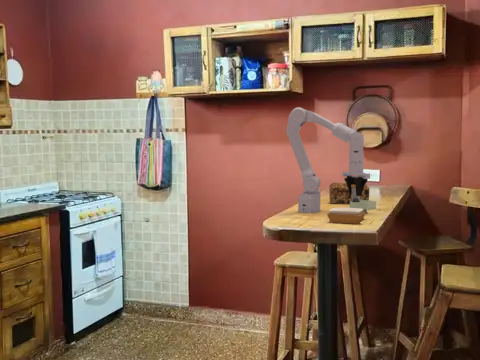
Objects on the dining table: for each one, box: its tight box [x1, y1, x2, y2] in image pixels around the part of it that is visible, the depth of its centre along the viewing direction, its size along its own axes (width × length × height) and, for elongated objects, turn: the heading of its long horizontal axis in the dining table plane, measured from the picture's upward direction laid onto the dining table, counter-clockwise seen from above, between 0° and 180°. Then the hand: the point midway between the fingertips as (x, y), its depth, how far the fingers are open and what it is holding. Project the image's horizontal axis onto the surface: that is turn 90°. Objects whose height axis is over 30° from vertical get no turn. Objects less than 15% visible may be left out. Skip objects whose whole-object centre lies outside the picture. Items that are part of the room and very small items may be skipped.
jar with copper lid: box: [351, 184, 360, 202], centre depth 228 cm, size 4×4×7 cm
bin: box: [349, 199, 377, 211], centre depth 242 cm, size 8×8×4 cm
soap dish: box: [326, 207, 366, 225], centre depth 210 cm, size 12×10×5 cm
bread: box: [328, 182, 370, 205], centre depth 269 cm, size 19×11×10 cm, turn 78°
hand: (355, 195), depth 228 cm, fingers closed on jar with copper lid, 4 cm apart
